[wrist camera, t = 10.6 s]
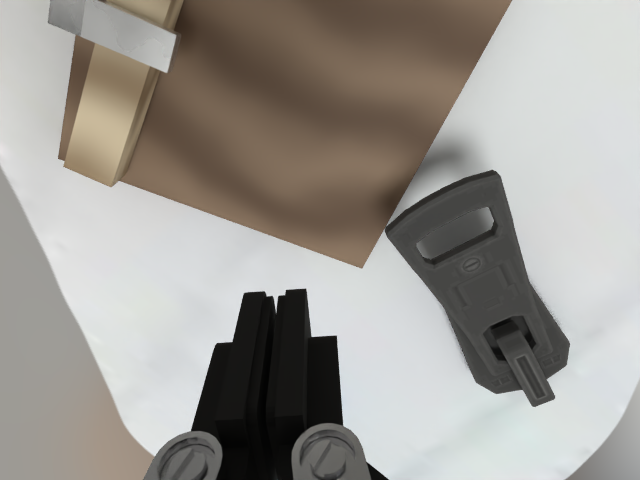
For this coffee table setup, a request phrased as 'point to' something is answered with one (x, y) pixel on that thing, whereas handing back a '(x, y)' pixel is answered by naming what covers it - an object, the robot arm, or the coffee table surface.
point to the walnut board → (301, 110)
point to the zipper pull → (486, 290)
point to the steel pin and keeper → (117, 30)
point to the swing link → (115, 102)
